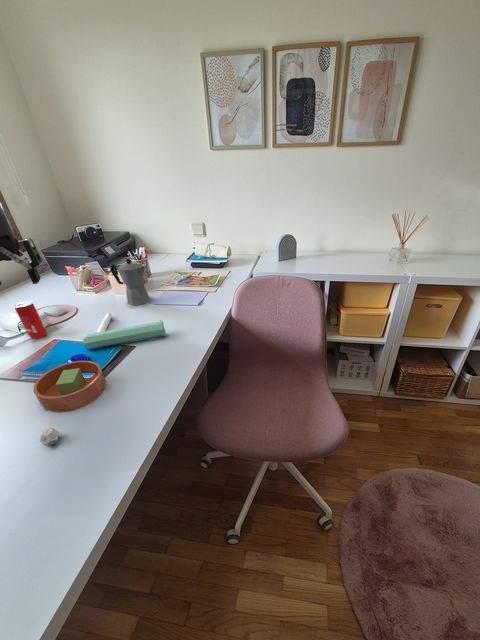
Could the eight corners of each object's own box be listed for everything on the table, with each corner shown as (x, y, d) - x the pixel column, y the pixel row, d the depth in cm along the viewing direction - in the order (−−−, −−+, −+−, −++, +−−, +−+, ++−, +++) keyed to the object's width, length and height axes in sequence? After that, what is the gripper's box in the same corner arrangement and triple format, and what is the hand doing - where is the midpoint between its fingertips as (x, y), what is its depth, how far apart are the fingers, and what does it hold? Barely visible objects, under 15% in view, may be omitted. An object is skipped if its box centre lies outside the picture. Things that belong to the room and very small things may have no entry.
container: (78, 335, 92) (161, 320, 99) (83, 333, 98) (162, 319, 104) (83, 353, 94) (165, 337, 100) (88, 350, 99) (166, 335, 106)
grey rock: (65, 434, 68) (59, 425, 66) (56, 447, 64) (50, 438, 63) (49, 434, 68) (43, 425, 66) (39, 448, 64) (33, 439, 63)
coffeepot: (158, 297, 131) (148, 255, 121) (148, 306, 123) (137, 263, 113) (125, 295, 133) (113, 254, 123) (113, 305, 125) (100, 262, 115)
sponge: (62, 398, 77) (55, 384, 74) (69, 383, 82) (63, 370, 79) (79, 395, 77) (72, 382, 75) (85, 381, 82) (79, 368, 80)
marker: (108, 316, 116) (106, 310, 115) (114, 315, 117) (112, 310, 116) (96, 339, 102) (93, 333, 100) (102, 339, 102) (100, 333, 101)
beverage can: (27, 336, 104) (10, 305, 98) (43, 330, 108) (28, 299, 101) (34, 341, 102) (17, 308, 95) (50, 334, 105) (35, 303, 99)
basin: (31, 416, 72) (22, 403, 70) (53, 377, 85) (46, 365, 82) (99, 406, 75) (93, 392, 72) (111, 369, 87) (106, 357, 85)
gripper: (26, 209, 70) (54, 277, 79) (-44, 212, 67) (-7, 281, 76) (11, 215, 64) (43, 287, 73) (-67, 218, 61) (-24, 292, 70)
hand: (17, 284), depth 75 cm, fingers open, 8 cm apart
